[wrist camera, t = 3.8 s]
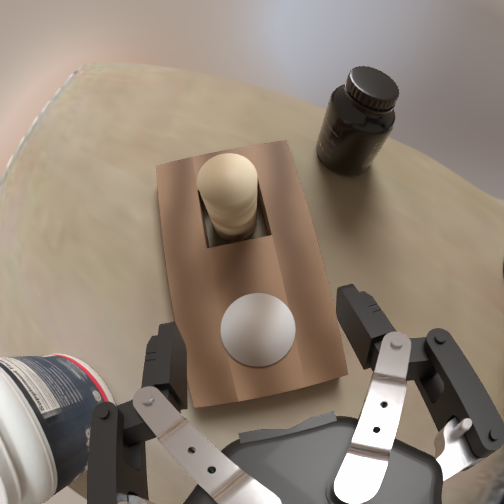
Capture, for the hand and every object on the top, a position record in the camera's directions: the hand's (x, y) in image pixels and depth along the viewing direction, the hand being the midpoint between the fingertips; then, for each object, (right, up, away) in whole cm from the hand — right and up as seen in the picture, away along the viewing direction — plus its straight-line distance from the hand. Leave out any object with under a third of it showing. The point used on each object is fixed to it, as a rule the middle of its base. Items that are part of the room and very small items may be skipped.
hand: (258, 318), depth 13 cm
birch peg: (-2, +6, +15) cm, 17 cm away
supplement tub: (-20, -14, +11) cm, 27 cm away
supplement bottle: (+10, +15, +18) cm, 25 cm away
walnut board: (-1, +2, +14) cm, 14 cm away
